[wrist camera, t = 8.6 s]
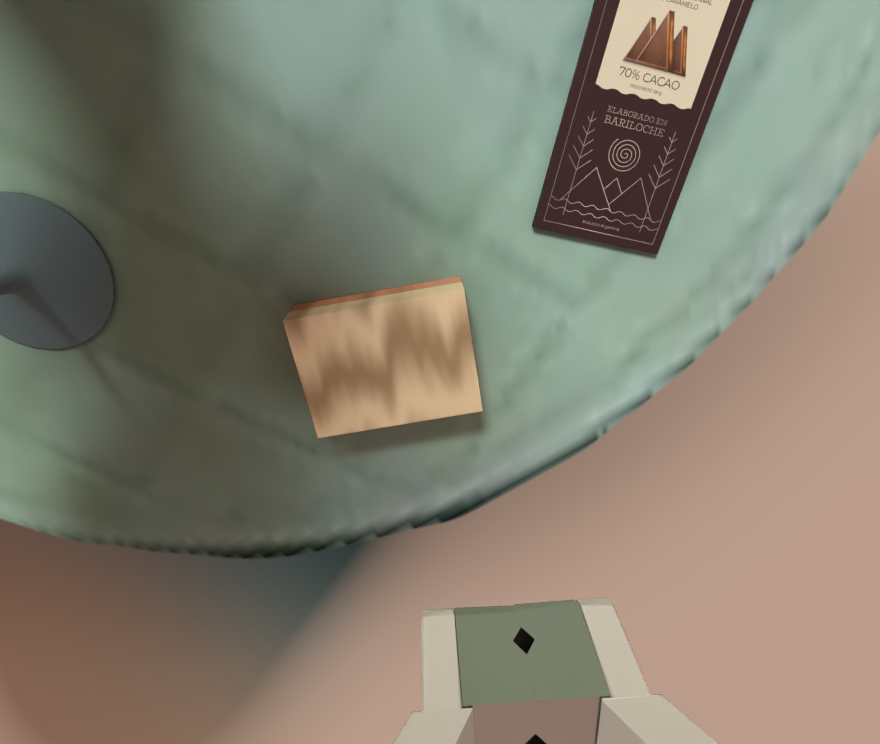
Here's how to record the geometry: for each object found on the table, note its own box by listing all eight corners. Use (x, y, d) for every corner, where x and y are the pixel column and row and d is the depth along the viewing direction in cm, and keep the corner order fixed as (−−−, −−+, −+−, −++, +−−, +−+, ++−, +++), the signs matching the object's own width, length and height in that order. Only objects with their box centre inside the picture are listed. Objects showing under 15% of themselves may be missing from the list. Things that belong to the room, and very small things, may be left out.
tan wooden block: (459, 274, 38) (295, 303, 38) (464, 289, 34) (282, 320, 35) (477, 386, 42) (326, 412, 42) (482, 410, 38) (318, 438, 38)
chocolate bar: (533, 226, 36) (626, -106, 29) (530, 224, 37) (620, -99, 30) (657, 254, 37) (775, -60, 30) (651, 251, 38) (765, -55, 31)
